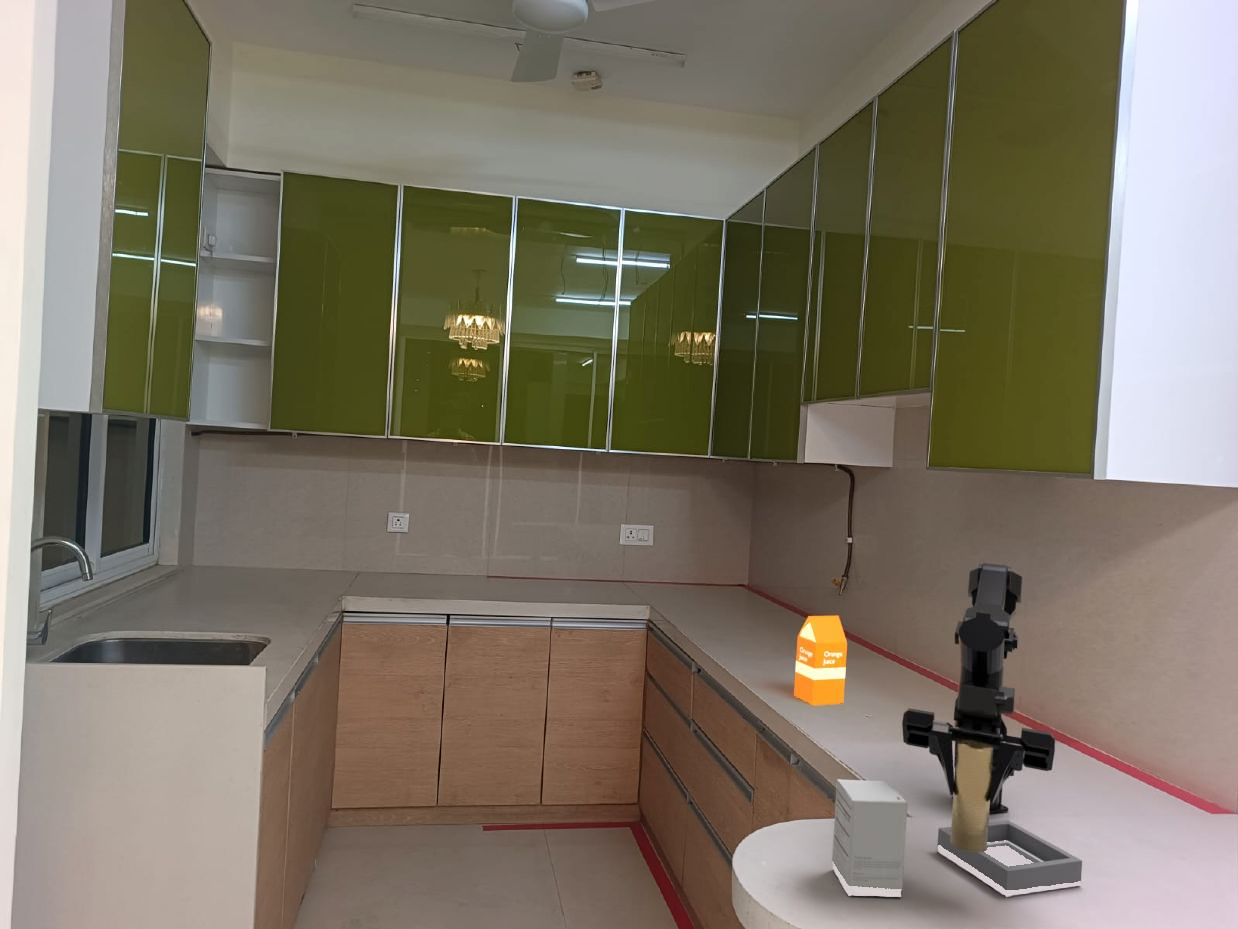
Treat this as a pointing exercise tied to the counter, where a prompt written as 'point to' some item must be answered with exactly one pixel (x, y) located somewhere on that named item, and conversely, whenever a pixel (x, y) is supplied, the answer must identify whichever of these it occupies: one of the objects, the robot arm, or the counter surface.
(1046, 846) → the walled box
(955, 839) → the shiny gold cylinder
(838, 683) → the orange juice
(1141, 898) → the counter surface
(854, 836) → the supplement box
